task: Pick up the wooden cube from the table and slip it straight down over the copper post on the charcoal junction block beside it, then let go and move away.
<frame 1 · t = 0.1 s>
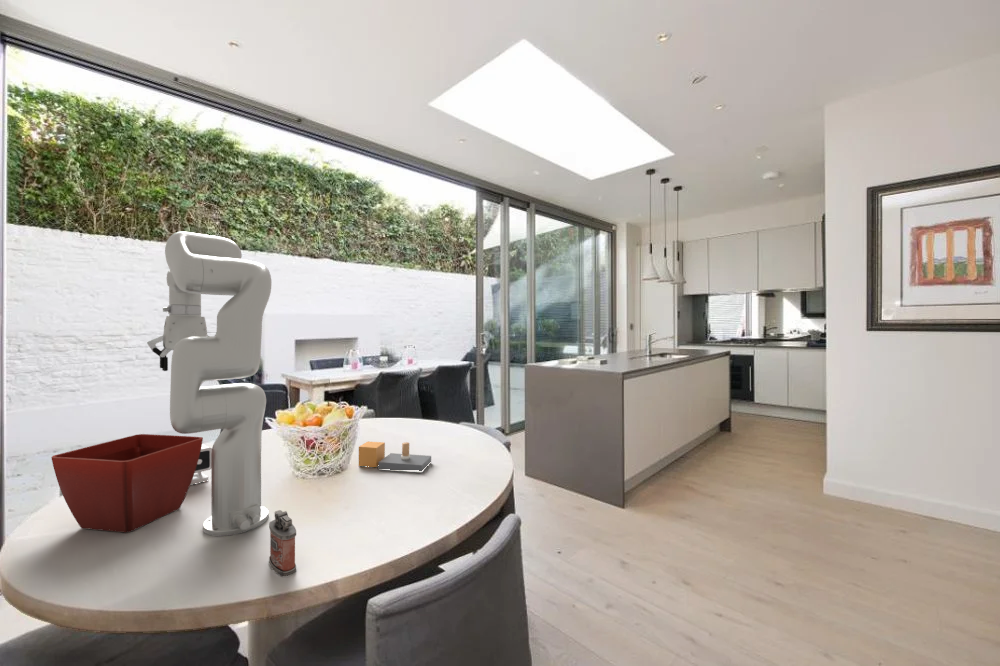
hand: (185, 369, 122), 31 cm above the table, tool pointing down, fingers open, 9 cm apart
security camera: (194, 483, 116), on the table
wooden cube: (371, 464, 133), on the table
lighter: (282, 567, 77), on the table
plant pot: (133, 518, 95), on the table
junction block: (405, 466, 131), on the table
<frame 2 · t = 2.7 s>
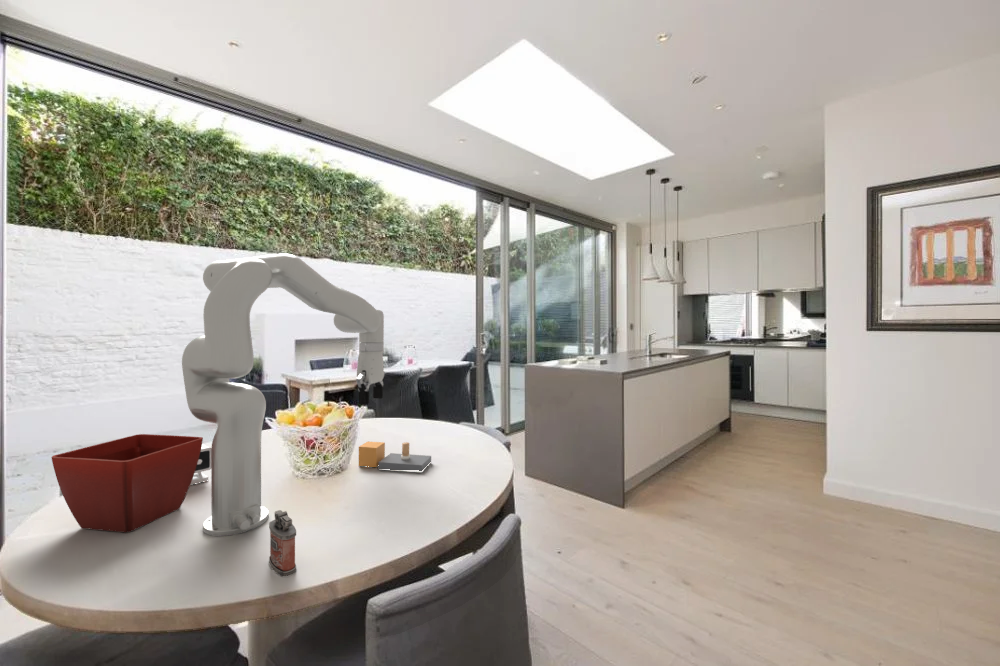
hand: (371, 400, 133), 21 cm above the table, tool pointing down, fingers open, 9 cm apart
nothing on the table moved.
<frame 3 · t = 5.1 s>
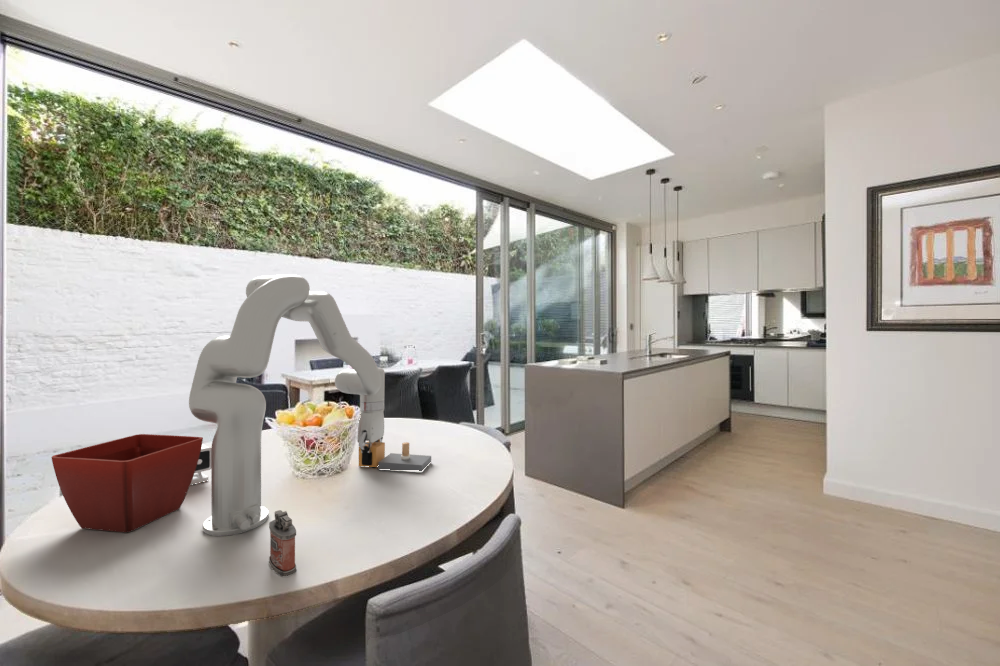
hand: (371, 460, 133), 1 cm above the table, tool pointing down, fingers closed on wooden cube, 5 cm apart
wooden cube: (371, 464, 133), on the table, touching gripper
everything else where it was.
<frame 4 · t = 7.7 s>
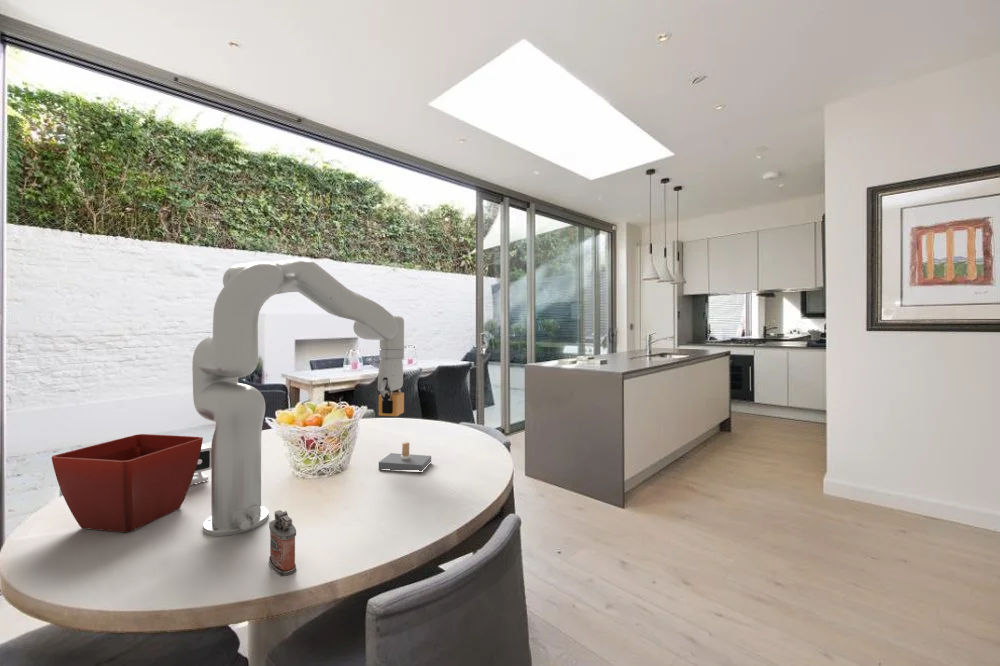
hand: (391, 410, 132), 18 cm above the table, tool pointing down, fingers closed on wooden cube, 5 cm apart
wooden cube: (391, 413, 132), point 17 cm above the table, touching gripper
everything else where it was.
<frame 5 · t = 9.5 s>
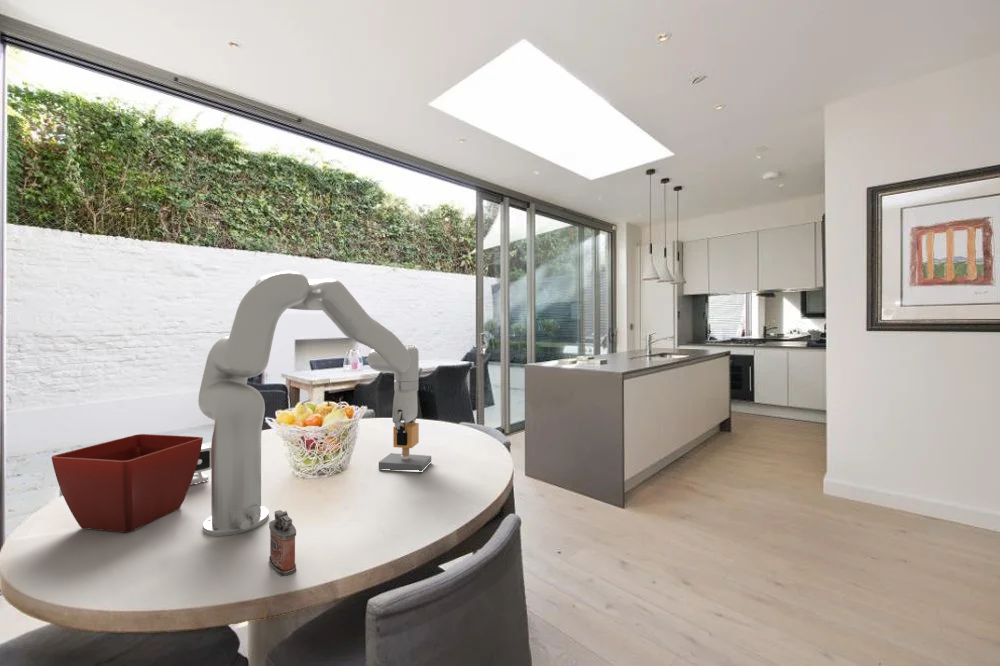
hand: (406, 441, 131), 8 cm above the table, tool pointing down, fingers closed on wooden cube, 5 cm apart
wooden cube: (406, 444, 131), point 7 cm above the table, touching gripper
everything else where it was.
when the fingers open (4 cm above the table, at t = 10.6 s): wooden cube stays where it is, resting on junction block.
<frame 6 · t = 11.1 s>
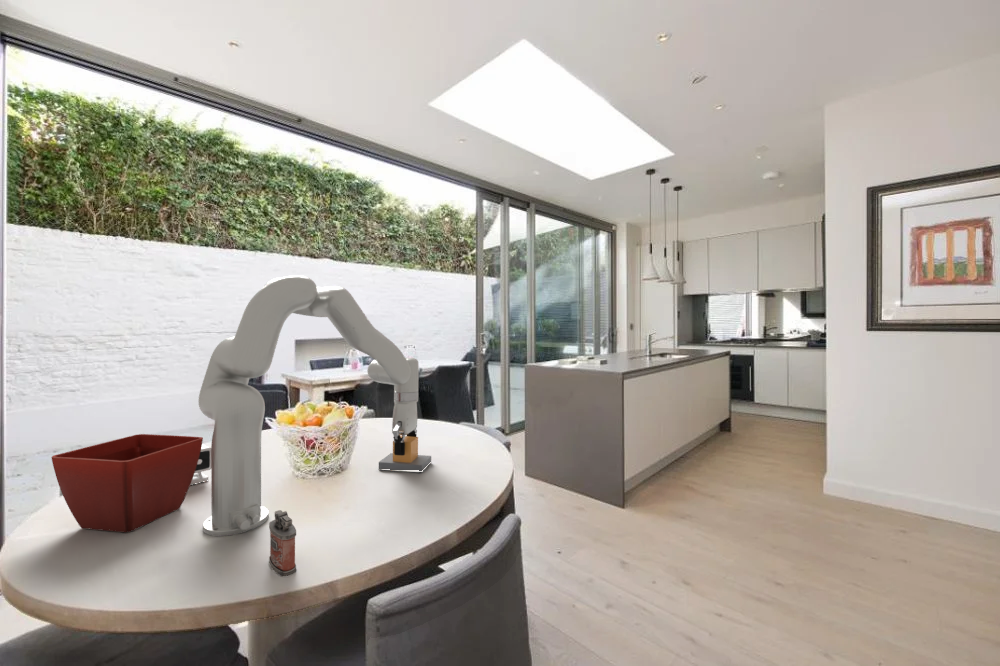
hand: (405, 450, 131), 5 cm above the table, tool pointing down, fingers open, 9 cm apart
wooden cube: (405, 458, 131), point 2 cm above the table, touching junction block
everything else where it was.
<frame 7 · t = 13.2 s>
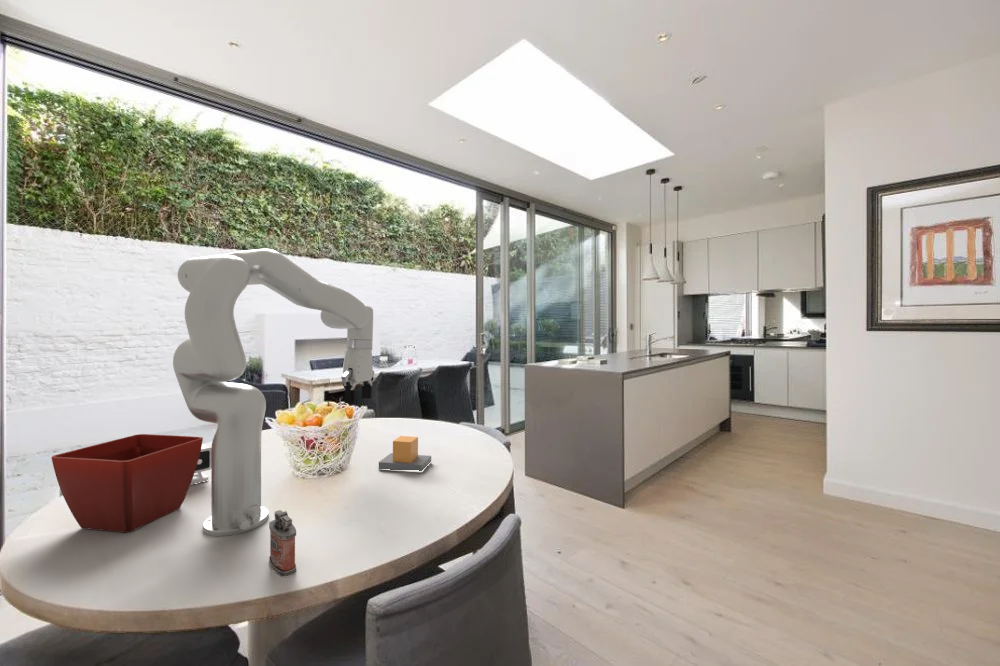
hand: (358, 400, 128), 22 cm above the table, tool pointing down, fingers open, 9 cm apart
nothing on the table moved.
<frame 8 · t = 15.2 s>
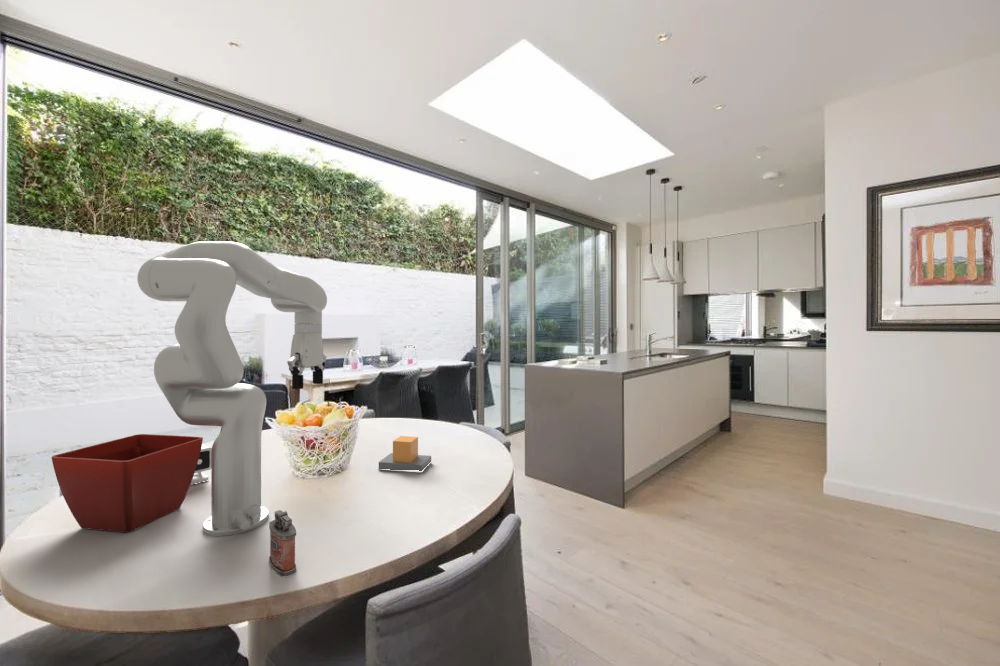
hand: (308, 386, 125), 26 cm above the table, tool pointing down, fingers open, 9 cm apart
nothing on the table moved.
at the end: wooden cube 0.0 cm off-centre on the junction block, point 2.5 cm above the junction block's base; wooden cube tilted 0°; the gripper is holding nothing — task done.
